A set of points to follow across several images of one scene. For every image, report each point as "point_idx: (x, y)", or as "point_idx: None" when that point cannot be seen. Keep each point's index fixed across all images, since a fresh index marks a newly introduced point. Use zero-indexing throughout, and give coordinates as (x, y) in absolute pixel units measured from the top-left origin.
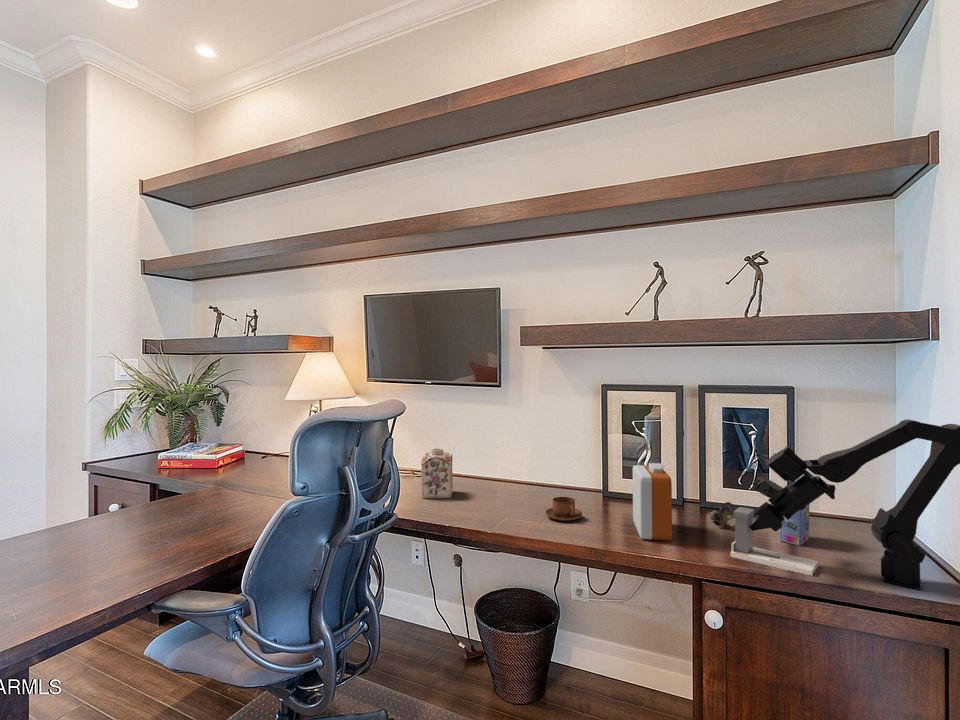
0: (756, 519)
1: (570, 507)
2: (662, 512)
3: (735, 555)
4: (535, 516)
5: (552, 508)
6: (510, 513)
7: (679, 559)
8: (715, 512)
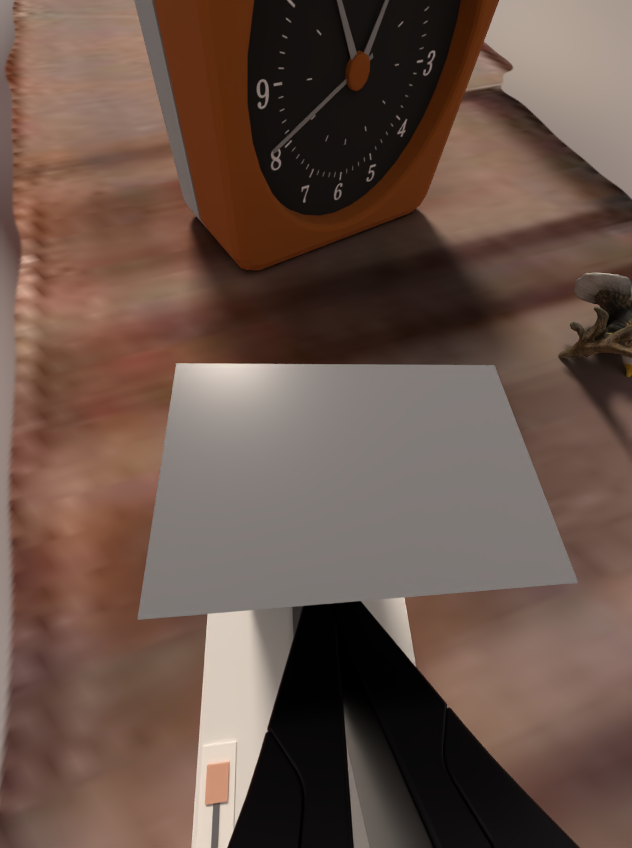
0: (271, 727)
1: None
2: (196, 108)
3: None
4: None
5: None
6: None
7: (38, 350)
8: (614, 285)
